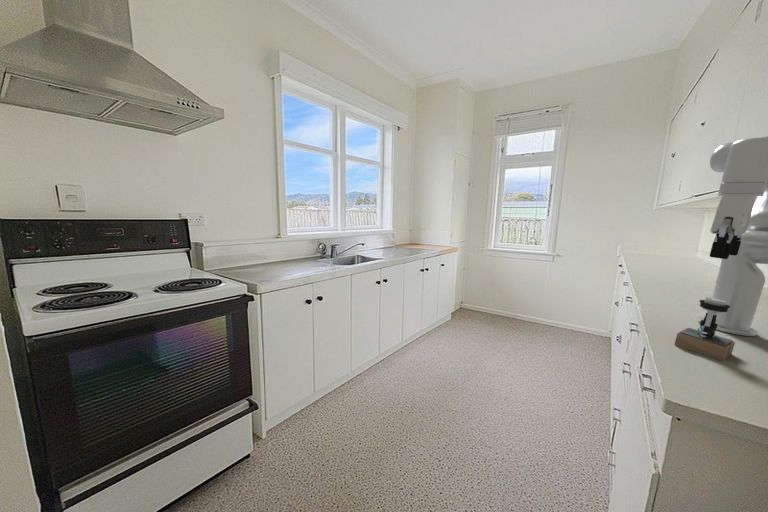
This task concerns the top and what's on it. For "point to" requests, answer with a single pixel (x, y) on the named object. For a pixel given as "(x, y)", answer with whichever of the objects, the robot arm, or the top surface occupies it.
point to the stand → (705, 344)
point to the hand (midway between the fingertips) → (723, 256)
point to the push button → (711, 315)
